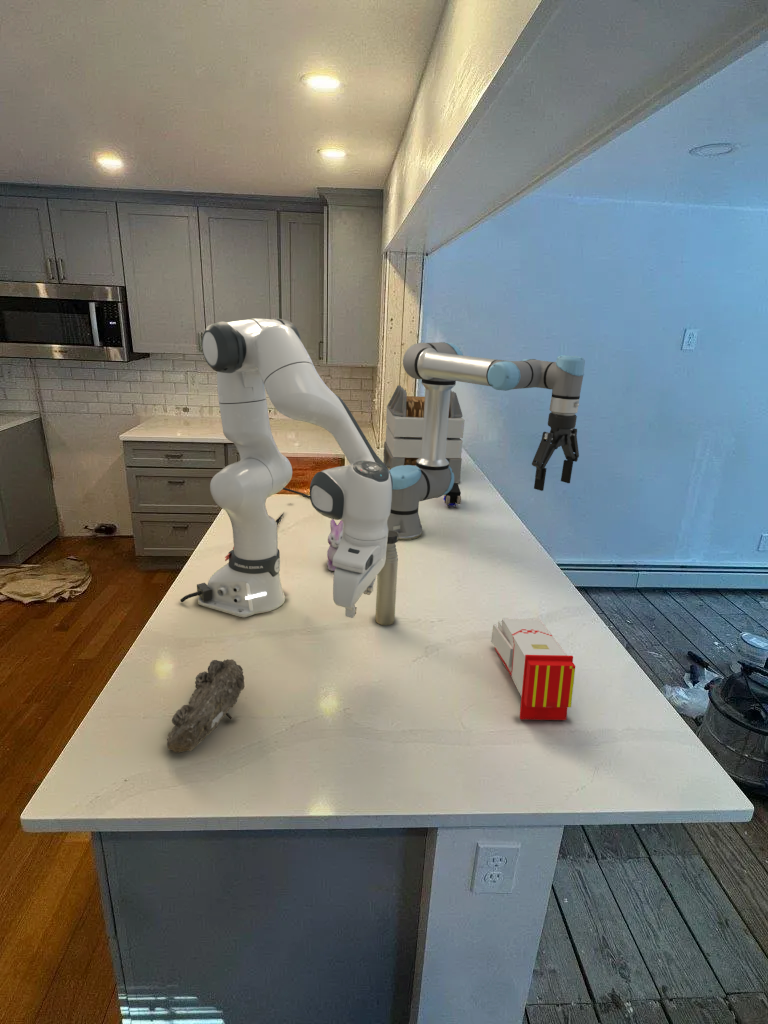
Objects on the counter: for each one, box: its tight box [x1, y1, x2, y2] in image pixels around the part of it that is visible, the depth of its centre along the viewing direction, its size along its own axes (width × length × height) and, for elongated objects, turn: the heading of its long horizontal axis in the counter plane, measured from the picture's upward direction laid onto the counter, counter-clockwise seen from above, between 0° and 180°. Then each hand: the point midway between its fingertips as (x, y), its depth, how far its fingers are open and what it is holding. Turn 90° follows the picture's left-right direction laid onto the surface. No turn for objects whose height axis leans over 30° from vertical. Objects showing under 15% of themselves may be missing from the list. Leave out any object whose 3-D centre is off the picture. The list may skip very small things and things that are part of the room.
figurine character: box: [442, 483, 462, 509], centre depth 232 cm, size 7×8×15 cm
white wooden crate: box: [383, 384, 465, 484], centre depth 268 cm, size 34×33×41 cm
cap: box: [387, 530, 399, 544], centre depth 136 cm, size 4×4×2 cm
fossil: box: [166, 658, 245, 754], centre depth 106 cm, size 22×10×15 cm
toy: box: [490, 617, 576, 721], centre depth 122 cm, size 12×13×30 cm
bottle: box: [374, 543, 399, 626], centre depth 140 cm, size 5×5×24 cm
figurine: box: [326, 519, 344, 572], centre depth 171 cm, size 9×10×15 cm
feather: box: [275, 503, 291, 525], centre depth 211 cm, size 2×28×2 cm
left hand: (359, 603), depth 117 cm, fingers open, 8 cm apart
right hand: (552, 485), depth 166 cm, fingers open, 13 cm apart
